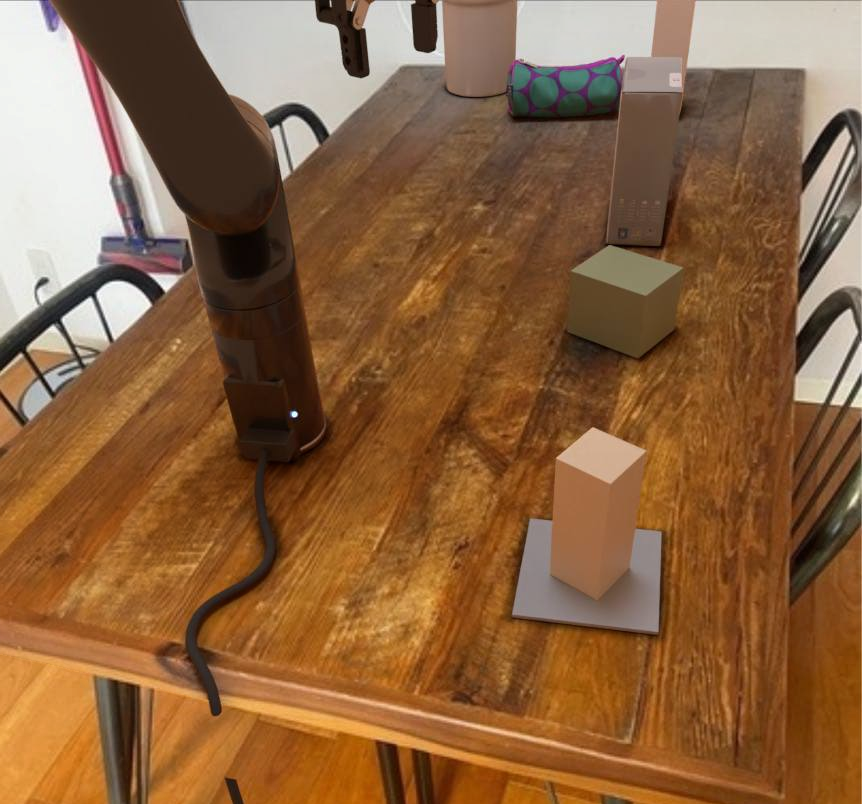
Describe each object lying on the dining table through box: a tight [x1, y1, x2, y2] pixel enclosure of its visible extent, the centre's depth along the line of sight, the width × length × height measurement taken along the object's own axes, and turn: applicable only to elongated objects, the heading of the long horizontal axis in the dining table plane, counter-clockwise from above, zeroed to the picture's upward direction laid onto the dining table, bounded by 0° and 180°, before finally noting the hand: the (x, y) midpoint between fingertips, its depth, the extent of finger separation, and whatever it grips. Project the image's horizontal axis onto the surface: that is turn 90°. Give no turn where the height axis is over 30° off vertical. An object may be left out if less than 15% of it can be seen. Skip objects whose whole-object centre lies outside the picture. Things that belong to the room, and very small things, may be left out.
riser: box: [566, 244, 685, 359], centre depth 101 cm, size 10×8×8 cm
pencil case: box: [505, 54, 626, 119], centre depth 155 cm, size 21×9×10 cm, turn 85°
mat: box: [511, 517, 663, 636], centre depth 75 cm, size 12×12×1 cm
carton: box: [550, 427, 648, 600], centre depth 70 cm, size 13×5×5 cm
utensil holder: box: [441, 0, 518, 98], centre depth 166 cm, size 15×15×18 cm
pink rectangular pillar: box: [650, 0, 696, 116], centre depth 148 cm, size 6×6×22 cm
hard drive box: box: [605, 56, 684, 247], centre depth 117 cm, size 16×8×20 cm, turn 168°
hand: (393, 63), depth 76 cm, fingers open, 8 cm apart
